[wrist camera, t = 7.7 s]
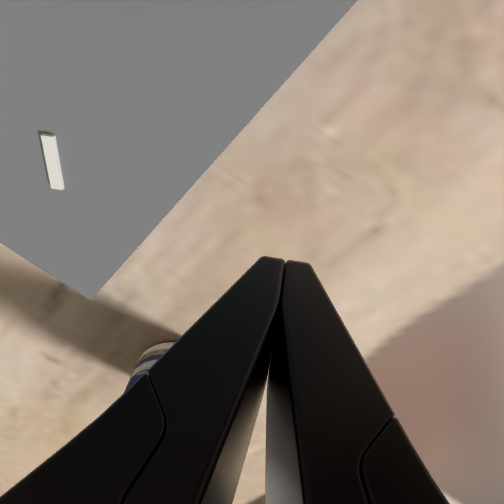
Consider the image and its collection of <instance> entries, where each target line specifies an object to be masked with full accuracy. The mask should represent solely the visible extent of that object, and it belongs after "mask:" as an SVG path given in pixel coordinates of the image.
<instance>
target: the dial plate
mask: <svg viewBox="0 0 504 504" xmlns="http://www.w3.org/2000/svg"><path fill="white" fill-rule="evenodd" d="M356 1H357V0H0V243H2V244H3V245H5V246H6V247H8V248H10V249H11V250H13V251H14V252H16V253H17V254H19V255H20V256H22V257H23V258H25V259H27V260H28V261H30V262H31V263H33V264H34V265H36V266H37V267H39V268H41V269H42V270H44V271H45V272H47V273H48V274H50V275H51V276H53V277H55V278H56V279H58V280H59V281H61V282H62V283H64V284H65V285H67V286H69V287H70V288H72V289H73V290H75V291H76V292H78V293H79V294H81V295H83V296H84V297H86V298H87V299H89V300H91V299H92V298H93V297H94V296H95V295H96V294H97V292H98V291H99V290H100V289H101V288H102V287H103V286H104V285H105V283H106V282H107V281H108V280H109V279H110V278H111V277H112V276H113V274H114V273H115V272H116V271H117V270H118V269H119V268H120V267H121V265H122V264H123V263H124V262H125V261H126V260H127V259H128V258H129V256H130V255H131V254H132V253H133V252H134V251H135V250H136V249H137V247H138V246H139V245H140V244H141V243H142V242H143V241H144V240H145V238H146V237H147V236H148V235H149V234H150V233H151V232H152V231H153V229H154V228H155V227H156V226H157V225H158V224H159V223H160V222H161V220H162V219H163V218H164V217H165V216H166V215H167V214H168V213H169V211H170V210H171V209H172V208H173V207H174V206H175V205H176V204H177V202H178V201H179V200H180V199H181V198H182V197H183V196H184V195H185V194H186V192H187V191H188V190H189V189H190V188H191V187H192V186H193V185H194V183H195V182H196V181H197V180H198V179H199V178H200V177H201V176H202V174H203V173H204V172H205V171H206V170H207V169H208V168H209V167H210V165H211V164H212V163H213V162H214V161H215V160H216V159H217V158H218V156H219V155H220V154H221V153H222V152H223V151H224V150H225V149H226V147H227V146H228V145H229V144H230V143H231V142H232V141H233V140H234V138H235V137H236V136H237V135H238V134H239V133H240V132H241V131H242V129H243V128H244V127H245V126H246V125H247V124H248V123H249V122H250V120H251V119H252V118H253V117H254V116H255V115H256V114H257V113H258V111H259V110H260V109H261V108H262V107H263V106H264V105H265V104H266V102H267V101H268V100H269V99H270V98H271V97H272V96H273V95H274V93H275V92H276V91H277V90H278V89H279V88H280V87H281V86H282V85H283V83H284V82H285V81H286V80H287V79H288V78H289V77H290V76H291V74H292V73H293V72H294V71H295V70H296V69H297V68H298V67H299V65H300V64H301V63H302V62H303V61H304V60H305V59H306V58H307V56H308V55H309V54H310V53H311V52H312V51H313V50H314V49H315V47H316V46H317V45H318V44H319V43H320V42H321V41H322V40H323V38H324V37H325V36H326V35H327V34H328V33H329V32H330V31H331V29H332V28H333V27H334V26H335V25H336V24H337V23H338V22H339V20H340V19H341V18H342V17H343V16H344V15H345V14H346V13H347V11H348V10H349V9H350V8H351V7H352V6H353V5H354V4H355V2H356Z"/></svg>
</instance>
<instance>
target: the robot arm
mask: <svg viewBox="0 0 504 504" xmlns="http://www.w3.org/2000/svg"><path fill="white" fill-rule="evenodd" d="M269 365H270V366H269ZM268 370H269V374H268ZM267 376H268V382H267V414H266V470H265V504H449V502H448V501H447V499H446V498H445V496H444V495H443V493H442V492H441V490H440V489H439V487H438V486H437V484H436V483H435V481H434V480H433V478H432V477H431V475H430V474H429V472H428V470H427V469H426V467H425V465H424V464H423V462H422V460H421V459H420V457H419V455H418V454H417V452H416V450H415V449H414V447H413V445H412V444H411V442H410V440H409V438H408V437H407V435H406V433H405V431H404V429H403V428H402V426H401V424H400V422H399V420H398V419H397V418H393V417H394V412H393V410H392V408H391V407H390V405H389V403H388V401H387V400H386V398H385V396H384V394H383V392H382V391H381V389H380V387H379V385H378V384H377V382H376V380H375V378H374V376H373V375H372V373H371V371H370V369H369V368H368V366H367V364H366V362H365V360H364V359H363V357H362V355H361V353H360V352H359V350H358V348H357V346H356V345H355V343H354V341H353V339H352V337H351V336H350V334H349V332H348V330H347V329H346V327H345V325H344V323H343V321H342V320H341V318H340V316H339V314H338V313H337V311H336V309H335V307H334V305H333V304H332V302H331V300H330V298H329V297H328V295H327V293H326V291H325V289H324V288H323V286H322V284H321V282H320V281H319V279H318V277H317V275H316V273H315V272H314V270H313V268H312V266H311V265H310V264H309V263H305V262H299V261H293V260H288V261H287V262H286V264H285V261H284V260H283V259H280V258H274V257H267V256H263V257H261V258H260V259H259V260H258V261H257V262H256V263H255V264H254V265H253V266H252V267H251V268H250V269H249V270H248V271H247V272H246V273H245V274H244V275H243V276H242V277H241V278H240V279H239V280H238V281H237V282H236V283H235V284H234V285H233V286H232V287H231V288H230V289H229V290H228V291H227V292H226V293H225V294H224V295H223V296H222V297H221V298H220V299H219V300H218V301H217V302H216V303H215V304H214V305H213V306H211V307H210V308H209V309H208V310H207V311H206V312H205V313H204V314H203V315H202V316H201V317H200V318H199V319H198V320H197V321H196V322H195V323H194V324H193V325H192V326H191V327H190V328H189V329H188V330H187V331H186V332H185V333H184V334H183V335H182V336H181V337H180V338H179V339H178V340H177V341H176V342H175V343H174V344H173V345H172V346H171V347H170V348H169V349H168V350H167V351H166V352H165V353H164V354H163V355H162V356H161V357H160V358H159V359H158V360H157V361H156V362H155V363H154V364H153V365H152V366H151V367H150V368H149V369H148V370H147V374H143V375H142V376H141V377H140V378H139V379H138V380H137V381H136V382H135V383H134V384H133V385H132V386H131V387H130V388H129V389H128V390H127V391H126V392H125V393H124V394H123V395H122V396H121V397H120V398H118V399H117V400H116V401H115V402H114V403H113V404H112V405H111V406H110V407H109V408H108V409H107V410H106V411H105V412H104V413H102V414H101V415H100V416H99V417H98V418H97V419H96V420H95V421H93V422H92V423H91V424H90V425H89V426H87V427H86V428H85V429H84V430H83V431H81V432H80V433H79V434H78V435H77V436H75V437H74V438H73V439H72V440H71V441H69V442H68V443H67V444H66V445H65V446H63V447H62V448H61V449H60V450H58V451H57V452H56V453H55V454H53V455H52V456H51V457H50V458H48V459H47V460H46V461H44V462H43V463H42V464H41V465H39V466H38V467H37V468H36V469H34V470H33V471H32V472H31V473H29V474H28V475H27V476H26V477H24V478H23V479H22V480H21V481H19V482H18V483H17V484H16V485H14V486H13V487H12V488H11V489H9V490H8V491H7V492H6V493H4V494H3V495H2V496H1V497H0V504H232V502H233V499H234V495H235V492H236V488H237V485H238V481H239V478H240V474H241V471H242V467H243V464H244V460H245V457H246V453H247V450H248V446H249V443H250V439H251V436H252V432H253V429H254V425H255V422H256V418H257V415H258V411H259V408H260V404H261V401H262V397H263V394H264V390H265V386H266V381H267Z"/></svg>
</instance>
